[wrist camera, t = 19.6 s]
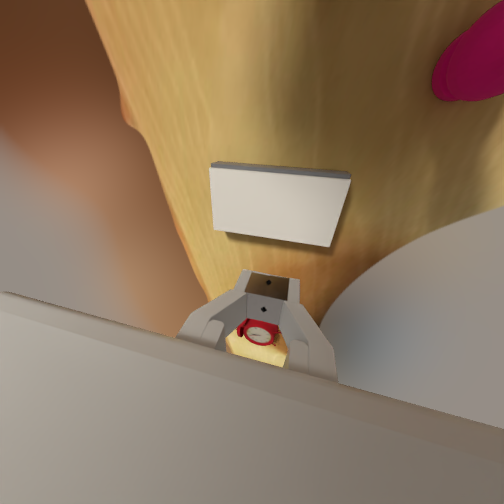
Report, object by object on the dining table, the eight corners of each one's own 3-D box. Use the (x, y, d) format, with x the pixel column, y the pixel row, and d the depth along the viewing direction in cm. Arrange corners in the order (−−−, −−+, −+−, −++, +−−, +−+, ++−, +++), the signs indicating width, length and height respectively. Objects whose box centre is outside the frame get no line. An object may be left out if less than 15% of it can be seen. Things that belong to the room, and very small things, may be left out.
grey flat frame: (218, 161, 32) (211, 163, 30) (347, 171, 28) (351, 174, 26) (221, 224, 39) (216, 229, 37) (326, 239, 35) (327, 246, 33)
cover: (211, 167, 30) (209, 167, 29) (350, 179, 26) (351, 180, 26) (215, 227, 36) (213, 229, 35) (328, 245, 32) (329, 247, 32)
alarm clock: (275, 350, 55) (226, 345, 53) (273, 331, 60) (229, 326, 58) (284, 332, 49) (230, 326, 47) (281, 312, 54) (232, 306, 53)
